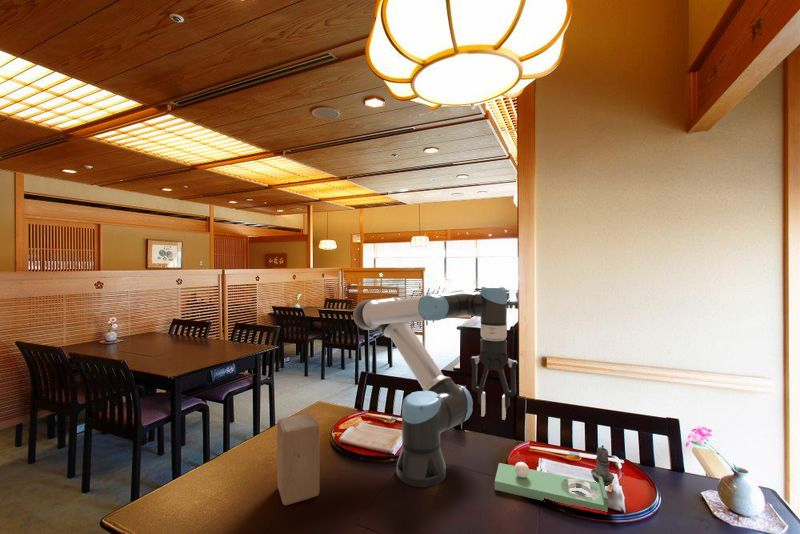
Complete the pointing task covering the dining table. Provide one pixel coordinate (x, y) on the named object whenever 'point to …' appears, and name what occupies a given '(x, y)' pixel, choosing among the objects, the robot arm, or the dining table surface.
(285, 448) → the wooden block
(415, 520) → the dining table surface
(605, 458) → the dark grey figurine
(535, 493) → the green flat block
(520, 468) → the ball
